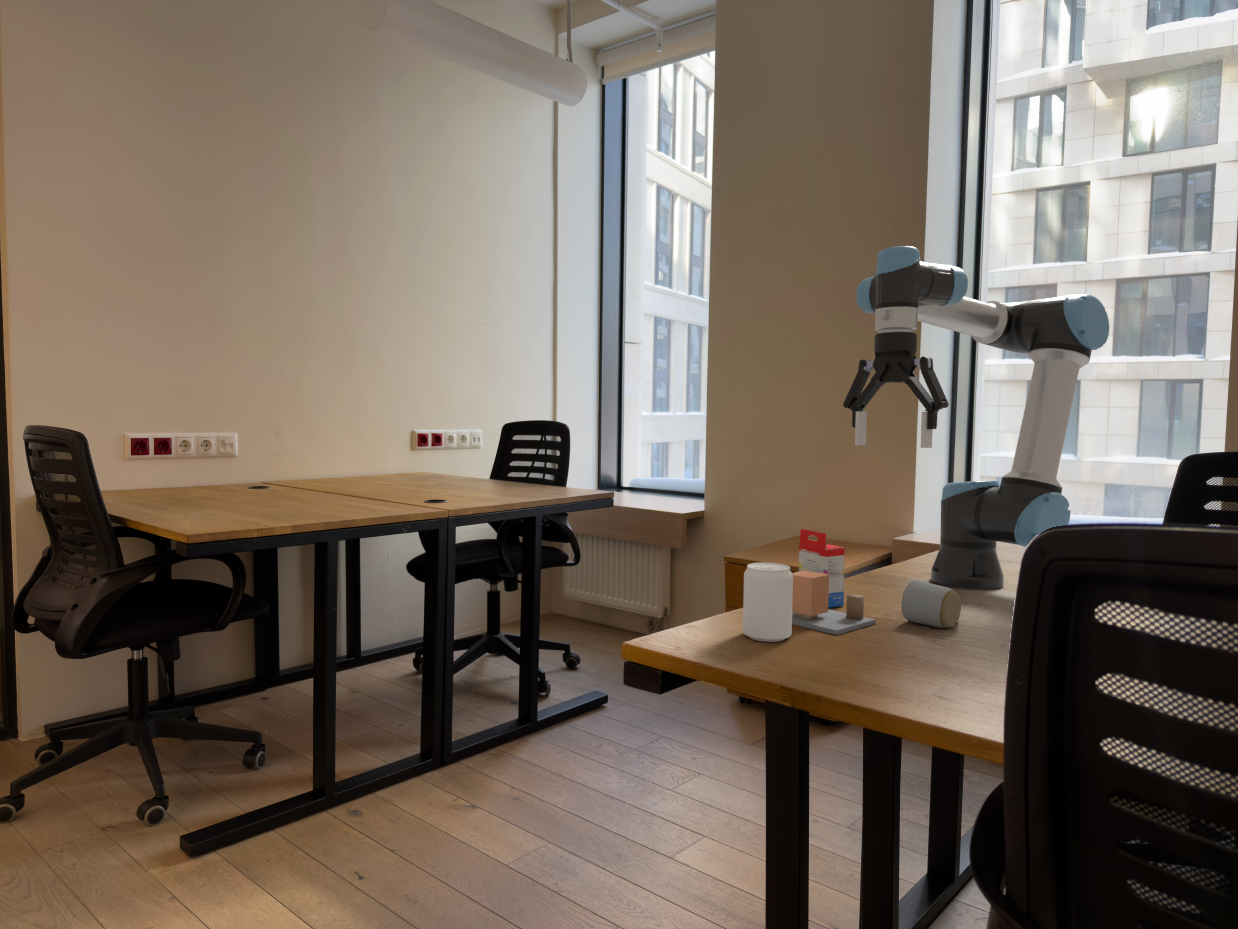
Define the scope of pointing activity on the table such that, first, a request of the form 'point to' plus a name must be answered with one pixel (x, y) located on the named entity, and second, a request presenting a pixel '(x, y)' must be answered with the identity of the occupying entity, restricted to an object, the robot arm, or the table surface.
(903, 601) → the ceramic mug
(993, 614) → the table surface
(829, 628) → the slate plate
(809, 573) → the peach foam cube
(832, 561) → the ink box
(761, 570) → the beverage can
